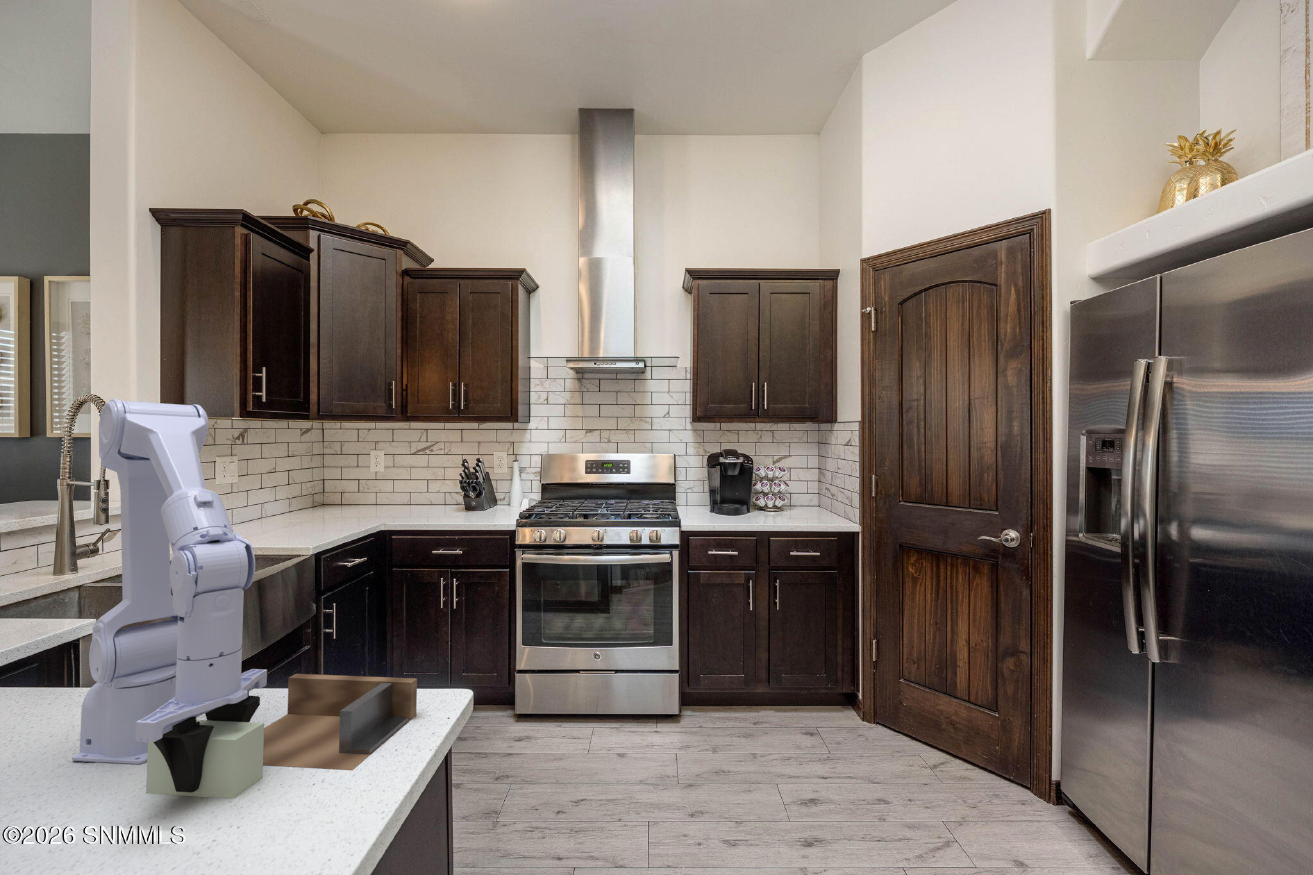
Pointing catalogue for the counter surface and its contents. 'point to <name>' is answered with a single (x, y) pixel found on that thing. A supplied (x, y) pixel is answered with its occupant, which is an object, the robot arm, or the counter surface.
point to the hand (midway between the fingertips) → (205, 778)
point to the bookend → (368, 721)
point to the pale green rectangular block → (216, 762)
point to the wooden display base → (326, 719)
